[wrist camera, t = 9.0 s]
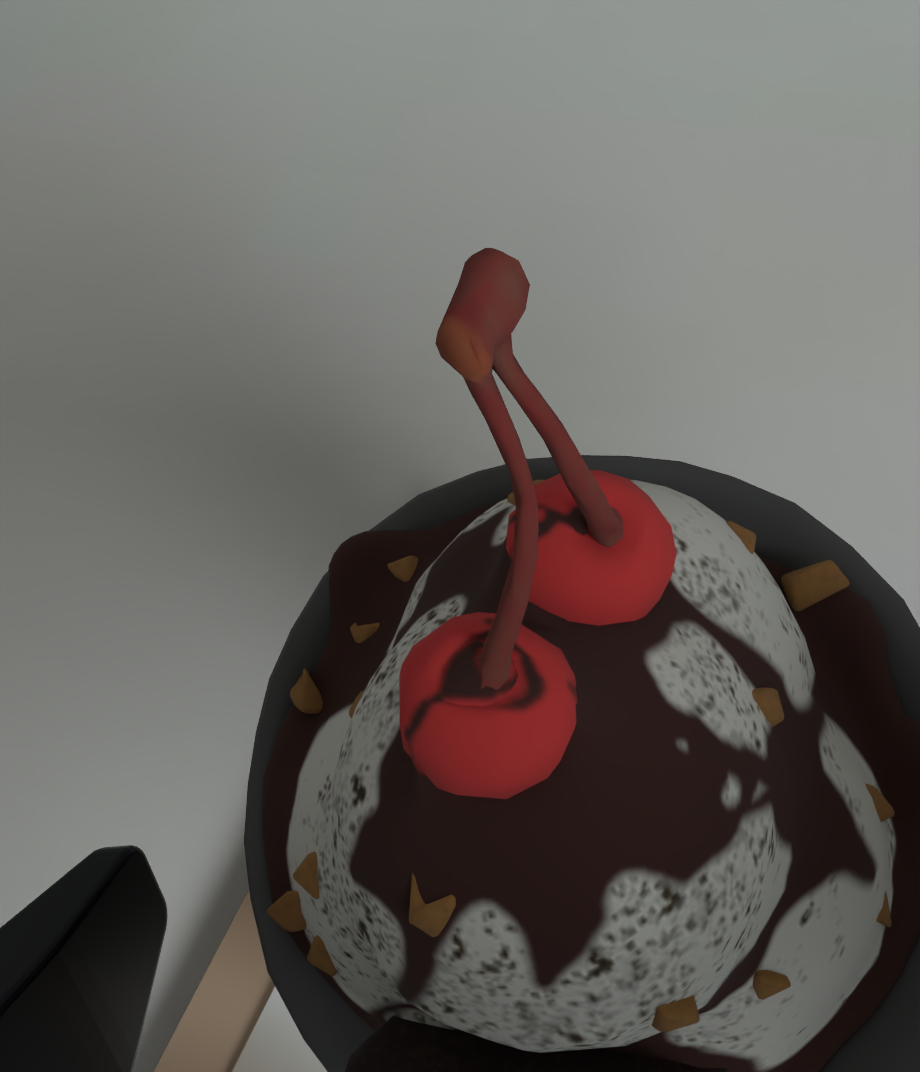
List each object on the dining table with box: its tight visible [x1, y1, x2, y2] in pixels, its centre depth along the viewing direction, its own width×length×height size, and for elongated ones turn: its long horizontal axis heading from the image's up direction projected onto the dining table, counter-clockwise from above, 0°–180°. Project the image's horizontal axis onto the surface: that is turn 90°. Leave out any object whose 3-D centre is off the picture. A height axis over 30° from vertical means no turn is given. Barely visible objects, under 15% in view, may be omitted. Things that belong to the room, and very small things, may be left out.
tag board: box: [154, 890, 327, 1072], centre depth 16 cm, size 18×14×2 cm
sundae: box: [244, 248, 920, 1072], centre depth 10 cm, size 7×7×15 cm
